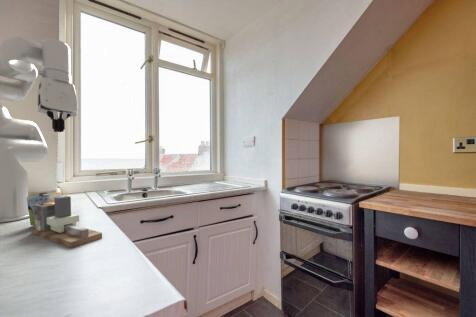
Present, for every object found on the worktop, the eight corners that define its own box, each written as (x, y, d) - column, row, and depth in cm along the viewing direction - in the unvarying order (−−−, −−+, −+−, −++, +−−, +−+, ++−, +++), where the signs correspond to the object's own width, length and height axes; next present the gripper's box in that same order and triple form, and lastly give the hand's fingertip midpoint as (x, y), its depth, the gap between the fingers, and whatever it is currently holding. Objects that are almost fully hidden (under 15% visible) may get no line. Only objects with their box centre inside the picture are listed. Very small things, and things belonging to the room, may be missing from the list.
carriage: (46, 230, 67) (46, 197, 67) (69, 224, 72) (68, 194, 72) (56, 233, 64) (55, 199, 64) (79, 227, 69) (78, 196, 69)
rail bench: (31, 233, 70) (30, 205, 70) (61, 225, 77) (60, 200, 77) (71, 248, 58) (70, 214, 58) (102, 237, 65) (101, 207, 65)
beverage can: (42, 228, 75) (41, 193, 74) (21, 228, 75) (20, 193, 75) (58, 222, 81) (57, 190, 81) (38, 222, 81) (37, 190, 81)
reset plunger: (40, 211, 71) (40, 203, 71) (55, 208, 74) (55, 201, 74) (46, 213, 69) (46, 205, 69) (61, 210, 73) (61, 202, 72)
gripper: (33, 69, 67) (35, 129, 68) (86, 82, 80) (88, 132, 81) (23, 73, 71) (25, 130, 71) (75, 85, 84) (77, 133, 84)
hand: (58, 131), depth 76 cm, fingers closed
